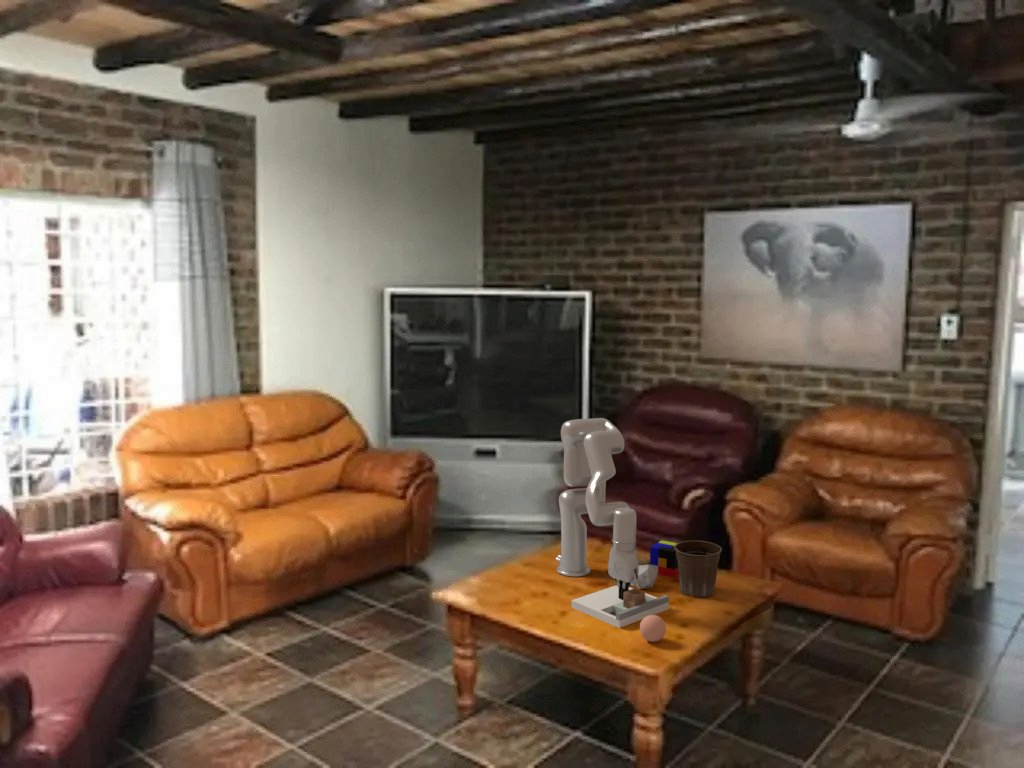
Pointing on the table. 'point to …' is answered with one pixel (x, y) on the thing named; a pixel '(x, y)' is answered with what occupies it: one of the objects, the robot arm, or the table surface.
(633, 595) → the block
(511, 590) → the table surface
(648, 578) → the die
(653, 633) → the toy ball
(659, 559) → the puzzle toy
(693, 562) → the plant pot
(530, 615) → the table surface
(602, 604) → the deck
